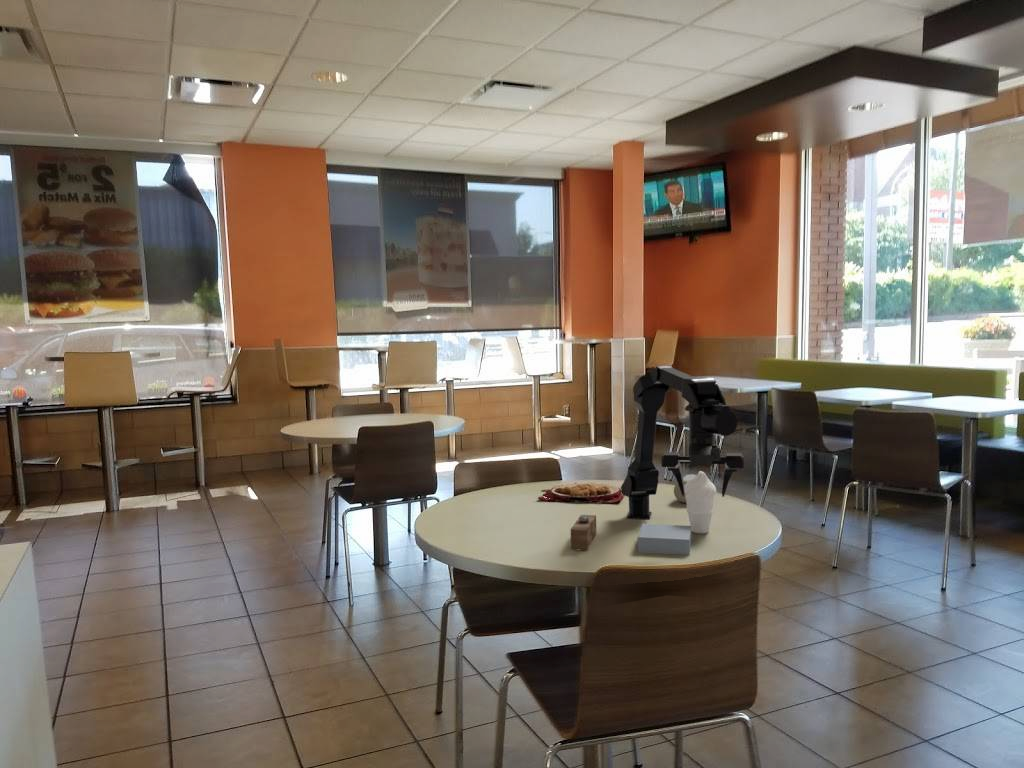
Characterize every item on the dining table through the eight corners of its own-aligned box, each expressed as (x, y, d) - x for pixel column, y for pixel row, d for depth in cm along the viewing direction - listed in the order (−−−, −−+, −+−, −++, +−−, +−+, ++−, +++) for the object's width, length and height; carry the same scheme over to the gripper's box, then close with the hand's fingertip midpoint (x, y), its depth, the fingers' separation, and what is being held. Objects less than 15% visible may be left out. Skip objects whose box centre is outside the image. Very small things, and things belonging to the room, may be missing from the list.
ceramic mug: (672, 502, 220) (672, 477, 219) (681, 497, 227) (681, 472, 226) (706, 507, 214) (706, 481, 214) (715, 501, 221) (715, 476, 221)
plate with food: (619, 507, 220) (620, 495, 220) (537, 502, 227) (537, 491, 227) (629, 490, 243) (629, 480, 243) (554, 486, 250) (554, 476, 250)
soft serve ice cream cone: (677, 529, 191) (676, 469, 190) (704, 525, 194) (703, 466, 193) (696, 537, 183) (695, 475, 182) (723, 533, 186) (723, 471, 185)
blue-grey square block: (642, 539, 185) (642, 523, 184) (691, 541, 182) (691, 525, 181) (637, 553, 173) (637, 537, 173) (689, 556, 170) (689, 539, 170)
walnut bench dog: (581, 533, 190) (580, 510, 190) (596, 534, 189) (596, 510, 189) (571, 549, 177) (570, 524, 176) (587, 550, 176) (586, 525, 175)
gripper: (658, 435, 167) (660, 502, 168) (743, 435, 162) (744, 504, 163) (663, 429, 178) (664, 492, 179) (742, 429, 173) (743, 494, 174)
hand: (703, 495), depth 173 cm, fingers open, 9 cm apart
